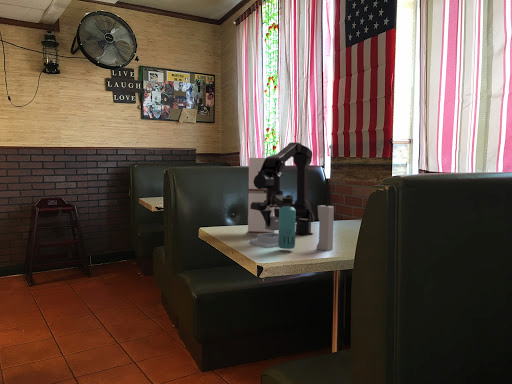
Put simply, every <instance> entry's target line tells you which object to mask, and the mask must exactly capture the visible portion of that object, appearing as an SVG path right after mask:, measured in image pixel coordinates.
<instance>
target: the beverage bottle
mask: <svg viewBox="0 0 512 384" xmlns="http://www.w3.org/2000/svg"><path fill="white" fill-rule="evenodd" d="M293 202H294V197H293V198H282V203H283V204H293ZM295 215H296V210H295V208H294V207H289V206H284V207H281V208H280V209H279V230H278V232H277V233H278V234H279V240H278V248H279V249H284V250H292V249H294V248H295V246H296V234H295V233H296V224H297V221H295V220H296V216H295Z"/></svg>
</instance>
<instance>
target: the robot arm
mask: <svg viewBox="0 0 512 384" xmlns="http://www.w3.org/2000/svg"><path fill="white" fill-rule="evenodd" d="M264 158H265V161H264V163H263V165H262V167H261V170H260V171H258V175H256V176H255V178H254V185H255V187H256V188H258V189H266V190H264V193H266V200H264V202H252V203H251V208H250V209H254V210H258V211H260V212H261V214H262V216H263V218H264V220H265V222H266V225H267V227H270V214H271V212H272V210H270V208H271V207H275V208H274V216H275V217H279V209H280V208H281V207H284V206H289V207H294V208H295V210H296V215H295V216H296V220H295V221H296V223H295V224H296V226H295V227H296V228H295V230H296V233H295V235H300V236H308V235H309V236H311V235H314V232H312V223H313V222H315V218H316V217H315V213H313V210H312V204H311V203H310V201H309V199H308V196H309V195H308V188H309V187H308V185H309V183H308V182H309V181H308V180H309V179H308V178H309V177H308V176H309V174H308V173H309V172H308V170H309V166H310V165H311V164H312V160H313V159H312V158H313V150H311V148H310V147H308V146H306V145H303V144H301V143H300V142H295V141H293V142H288V143H287V145H286V146H285V147H283V149H281V150H280V151H278V152H277V153H276V154H272V155H268V156H266V157H264ZM291 158H293V159H292V160H293V164H294V165H295V166H296V200H295V201H293V204H283V203H282V198H293V199H294V197H293V195H292V194H288V195H284V191H283V190H281V183H282V182H281V178H282V177H284V175H283V173H282V170H284V168H285V167H286V162H287V161H288V160H290V159H291Z"/></svg>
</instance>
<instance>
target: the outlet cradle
mask: <svg viewBox="0 0 512 384" xmlns="http://www.w3.org/2000/svg"><path fill="white" fill-rule="evenodd" d="M278 233H279V232H275V231H274V232H272V233H262V234H257V236H256V239H249V243H250V244H252V245H256V246H258V247H259V246H260V247H262V246H263V248H266V249H268V248H269V249H271V248H277V247H278V248H279V246H278V240H279V234H278Z"/></svg>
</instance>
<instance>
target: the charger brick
mask: <svg viewBox="0 0 512 384" xmlns="http://www.w3.org/2000/svg"><path fill="white" fill-rule="evenodd" d="M265 229H268V230H272V231H274V232H275V231H279V217H275V216H270V227H267V225H266V222H265Z"/></svg>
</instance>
